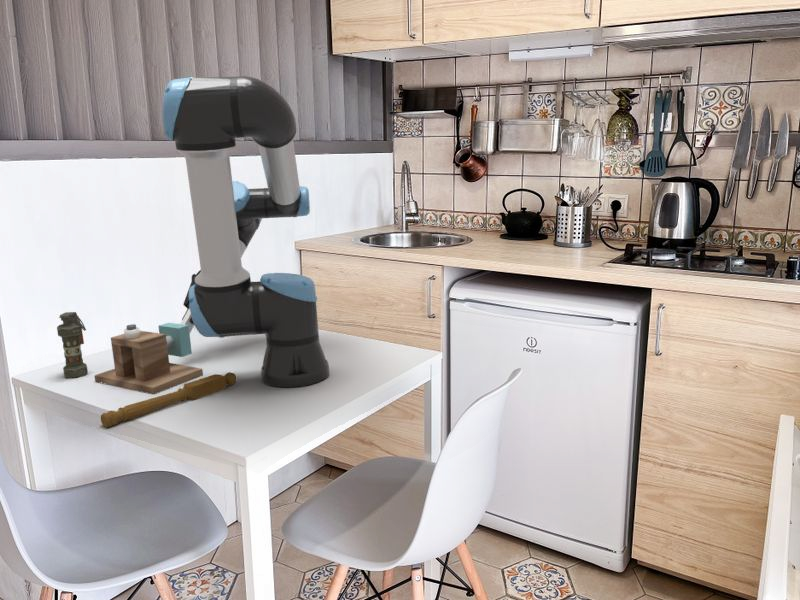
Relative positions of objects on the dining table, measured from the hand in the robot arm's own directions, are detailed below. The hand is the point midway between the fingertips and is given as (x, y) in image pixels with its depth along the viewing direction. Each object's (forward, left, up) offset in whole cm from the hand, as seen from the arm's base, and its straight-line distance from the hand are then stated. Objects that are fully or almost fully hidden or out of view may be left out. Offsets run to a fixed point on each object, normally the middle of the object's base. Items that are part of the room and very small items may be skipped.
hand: (182, 334), depth 164 cm
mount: (-1, +11, -8) cm, 14 cm away
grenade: (+18, +16, -8) cm, 26 cm away
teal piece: (-1, +8, -4) cm, 9 cm away
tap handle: (-19, +20, -8) cm, 29 cm away
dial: (-1, +14, +3) cm, 15 cm away
